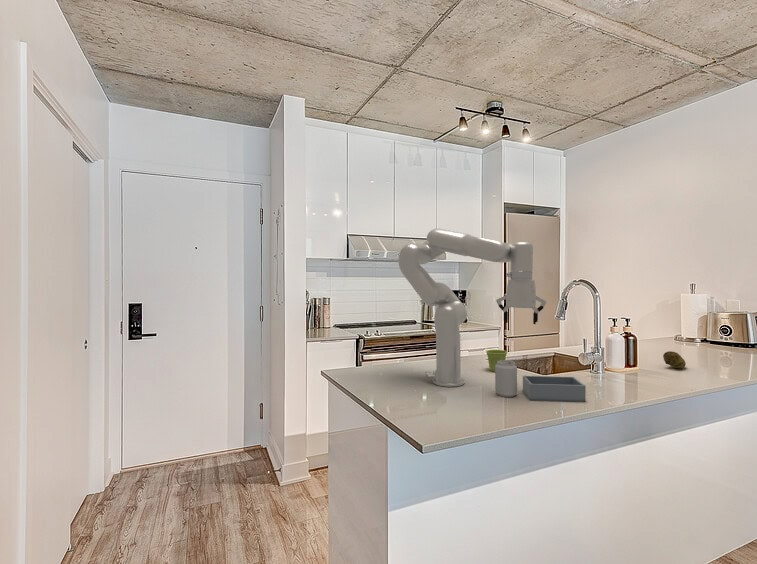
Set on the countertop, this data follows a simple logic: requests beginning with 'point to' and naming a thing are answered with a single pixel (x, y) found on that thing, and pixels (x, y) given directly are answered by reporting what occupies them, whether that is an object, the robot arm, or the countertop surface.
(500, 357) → the plant pot
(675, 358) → the avocado
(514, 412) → the countertop surface
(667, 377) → the countertop surface
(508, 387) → the can
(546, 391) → the tote
